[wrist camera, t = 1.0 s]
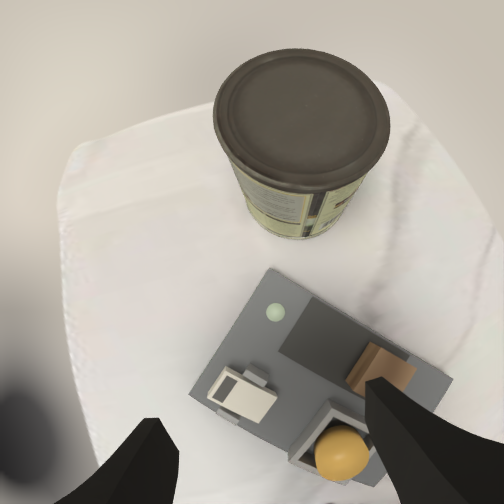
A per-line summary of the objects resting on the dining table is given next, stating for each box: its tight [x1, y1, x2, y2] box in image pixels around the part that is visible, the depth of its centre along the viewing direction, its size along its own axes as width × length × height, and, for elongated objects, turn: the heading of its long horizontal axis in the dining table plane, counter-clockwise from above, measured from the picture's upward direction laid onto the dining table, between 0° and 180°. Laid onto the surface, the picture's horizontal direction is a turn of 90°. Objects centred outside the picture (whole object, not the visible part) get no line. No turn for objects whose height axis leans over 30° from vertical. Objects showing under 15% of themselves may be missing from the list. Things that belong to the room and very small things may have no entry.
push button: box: [313, 425, 369, 481], centre depth 20 cm, size 4×4×3 cm
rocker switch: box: [207, 366, 278, 423], centre depth 23 cm, size 5×3×1 cm, turn 58°
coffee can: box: [213, 49, 390, 240], centre depth 22 cm, size 10×10×14 cm
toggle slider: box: [345, 342, 417, 397], centre depth 22 cm, size 4×4×3 cm
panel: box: [188, 268, 453, 487], centre depth 24 cm, size 22×14×4 cm, turn 58°
